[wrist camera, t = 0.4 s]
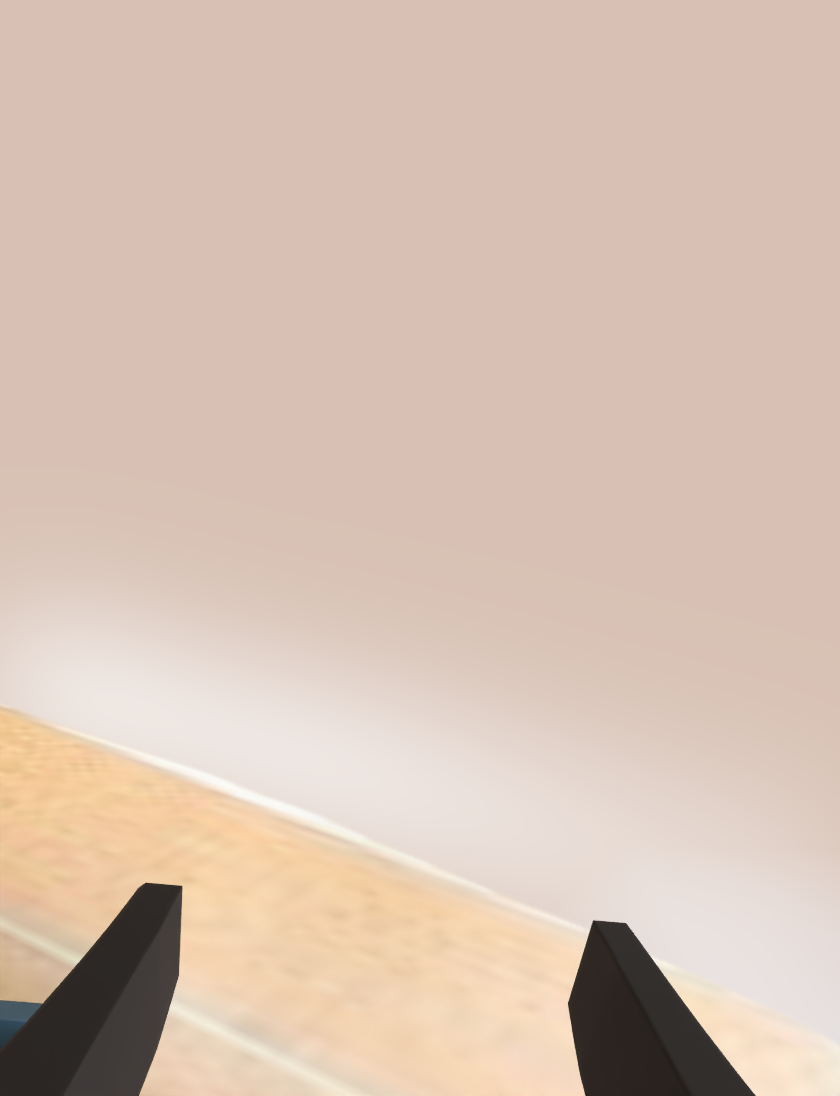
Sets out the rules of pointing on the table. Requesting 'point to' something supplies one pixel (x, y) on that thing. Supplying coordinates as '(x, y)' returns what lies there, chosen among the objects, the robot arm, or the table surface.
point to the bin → (14, 1017)
